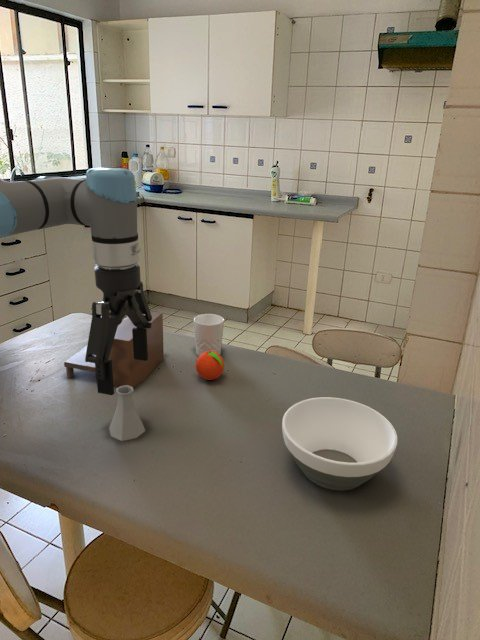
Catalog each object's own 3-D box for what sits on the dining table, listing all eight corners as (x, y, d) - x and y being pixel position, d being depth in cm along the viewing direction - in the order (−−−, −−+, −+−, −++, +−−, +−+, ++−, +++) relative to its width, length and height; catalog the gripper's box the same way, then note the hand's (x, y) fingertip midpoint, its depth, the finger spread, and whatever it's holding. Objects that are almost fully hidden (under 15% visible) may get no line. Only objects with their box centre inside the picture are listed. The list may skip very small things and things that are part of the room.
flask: (101, 431, 91) (98, 387, 88) (134, 418, 96) (132, 376, 92) (119, 449, 87) (116, 404, 83) (153, 435, 91) (151, 391, 87)
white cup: (222, 360, 122) (223, 325, 118) (192, 359, 122) (192, 324, 118) (223, 347, 129) (224, 314, 125) (195, 346, 129) (195, 313, 125)
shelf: (66, 381, 109) (60, 330, 104) (105, 349, 125) (101, 304, 120) (132, 393, 105) (129, 341, 100) (163, 358, 121) (162, 312, 116)
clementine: (232, 380, 113) (234, 353, 110) (212, 390, 108) (212, 362, 105) (210, 368, 118) (211, 343, 115) (189, 377, 113) (189, 351, 110)
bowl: (408, 474, 84) (418, 430, 80) (348, 532, 71) (356, 483, 67) (321, 426, 96) (326, 386, 93) (256, 468, 83) (258, 423, 80)
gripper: (98, 288, 66) (109, 414, 74) (166, 250, 89) (169, 350, 97) (52, 282, 68) (67, 406, 76) (131, 246, 90) (136, 345, 98)
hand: (124, 375), depth 86 cm, fingers open, 13 cm apart
